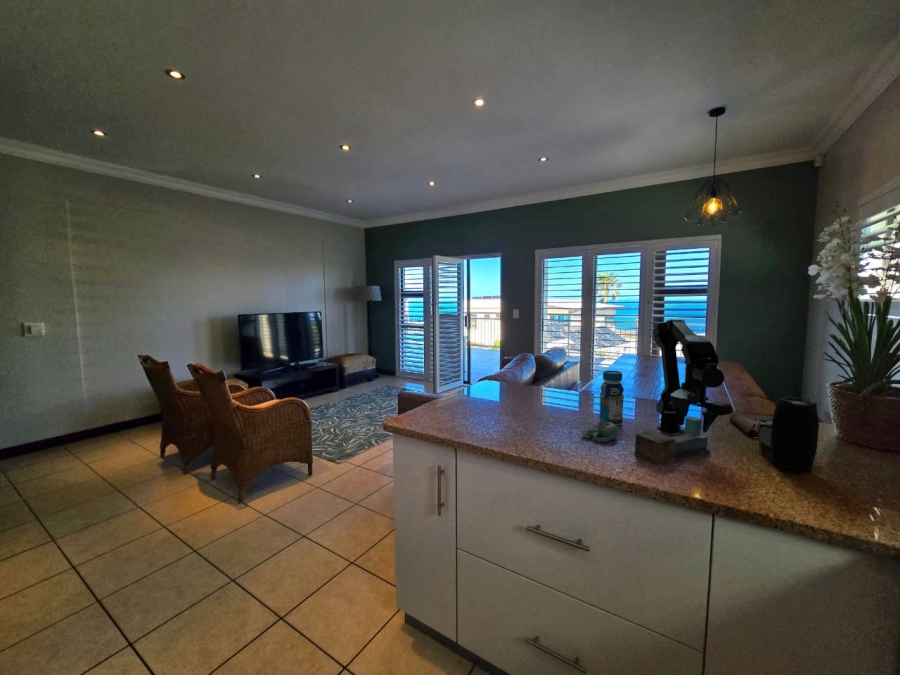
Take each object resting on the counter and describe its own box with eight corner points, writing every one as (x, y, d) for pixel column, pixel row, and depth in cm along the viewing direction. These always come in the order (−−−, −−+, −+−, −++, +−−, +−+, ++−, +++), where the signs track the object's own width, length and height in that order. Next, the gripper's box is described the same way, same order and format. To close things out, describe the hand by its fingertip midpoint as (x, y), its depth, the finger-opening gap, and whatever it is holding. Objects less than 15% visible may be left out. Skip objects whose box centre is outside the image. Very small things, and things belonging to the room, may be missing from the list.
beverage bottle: (601, 417, 145) (603, 369, 144) (624, 421, 140) (626, 371, 139) (596, 423, 139) (598, 372, 137) (620, 427, 134) (622, 374, 132)
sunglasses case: (779, 440, 120) (768, 422, 121) (756, 448, 123) (745, 430, 123) (755, 423, 137) (745, 408, 138) (735, 431, 140) (725, 415, 140)
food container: (793, 451, 112) (796, 419, 111) (805, 459, 106) (808, 426, 105) (745, 446, 116) (748, 416, 115) (754, 453, 110) (757, 422, 109)
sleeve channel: (684, 442, 119) (685, 429, 118) (710, 452, 112) (710, 438, 111) (650, 450, 113) (651, 437, 112) (675, 461, 105) (675, 446, 105)
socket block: (650, 450, 113) (651, 430, 112) (675, 461, 105) (676, 439, 105) (634, 454, 110) (635, 433, 109) (658, 465, 103) (659, 443, 102)
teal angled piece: (689, 441, 116) (690, 416, 116) (700, 445, 113) (702, 419, 112) (661, 448, 111) (663, 421, 111) (672, 452, 108) (674, 425, 107)
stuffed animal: (576, 417, 130) (611, 412, 128) (580, 436, 130) (614, 431, 128) (583, 427, 119) (621, 422, 117) (587, 448, 119) (625, 443, 118)
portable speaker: (823, 476, 96) (830, 404, 94) (785, 475, 96) (792, 404, 95) (795, 461, 104) (801, 396, 102) (760, 461, 105) (766, 395, 103)
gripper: (650, 376, 118) (648, 423, 119) (710, 389, 100) (707, 443, 102) (673, 374, 122) (671, 418, 123) (735, 385, 105) (731, 437, 106)
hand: (692, 428), depth 114 cm, fingers open, 7 cm apart
